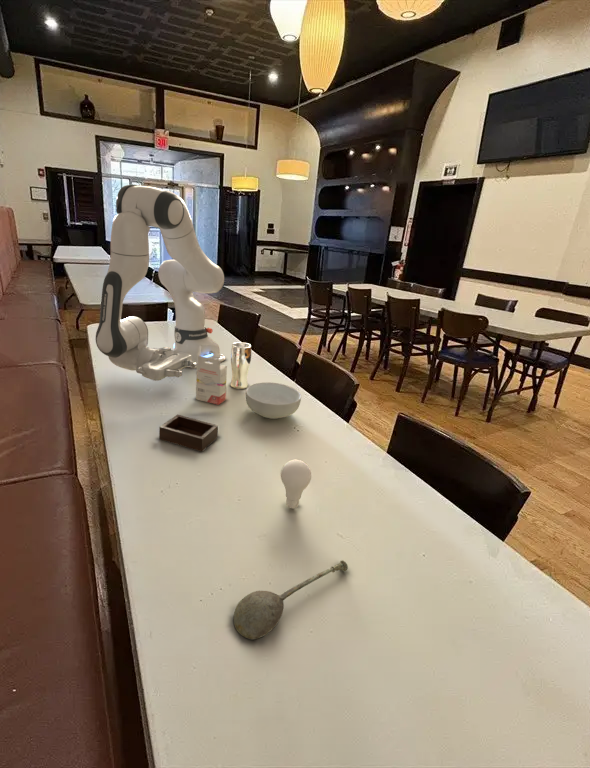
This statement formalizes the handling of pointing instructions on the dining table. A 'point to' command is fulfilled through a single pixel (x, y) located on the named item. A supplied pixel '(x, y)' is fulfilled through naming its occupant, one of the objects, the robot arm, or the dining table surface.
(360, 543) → the dining table surface
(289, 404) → the cereal bowl
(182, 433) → the tray
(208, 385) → the ink cartridge box
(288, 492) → the lightbulb
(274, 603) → the soupspoon
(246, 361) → the beer glass
